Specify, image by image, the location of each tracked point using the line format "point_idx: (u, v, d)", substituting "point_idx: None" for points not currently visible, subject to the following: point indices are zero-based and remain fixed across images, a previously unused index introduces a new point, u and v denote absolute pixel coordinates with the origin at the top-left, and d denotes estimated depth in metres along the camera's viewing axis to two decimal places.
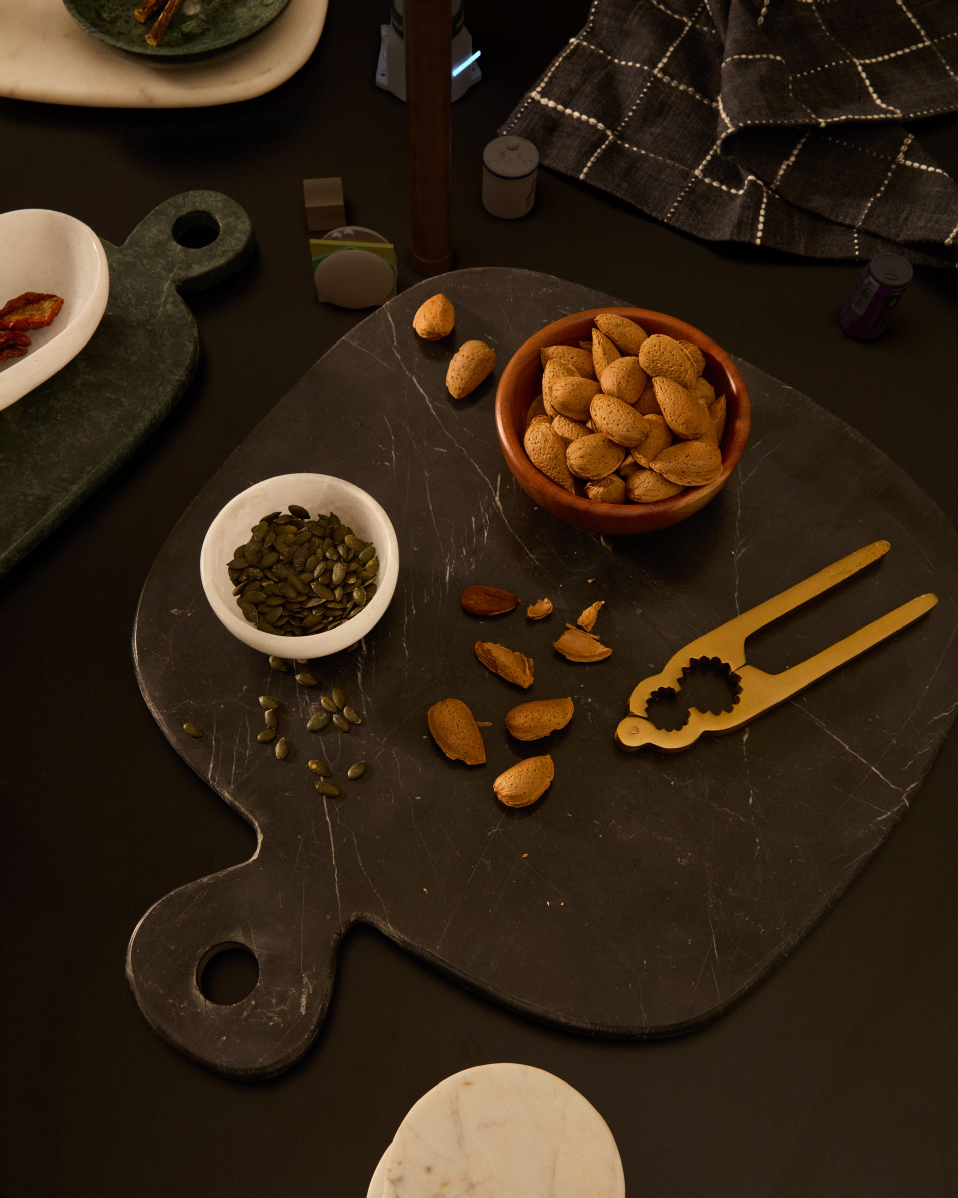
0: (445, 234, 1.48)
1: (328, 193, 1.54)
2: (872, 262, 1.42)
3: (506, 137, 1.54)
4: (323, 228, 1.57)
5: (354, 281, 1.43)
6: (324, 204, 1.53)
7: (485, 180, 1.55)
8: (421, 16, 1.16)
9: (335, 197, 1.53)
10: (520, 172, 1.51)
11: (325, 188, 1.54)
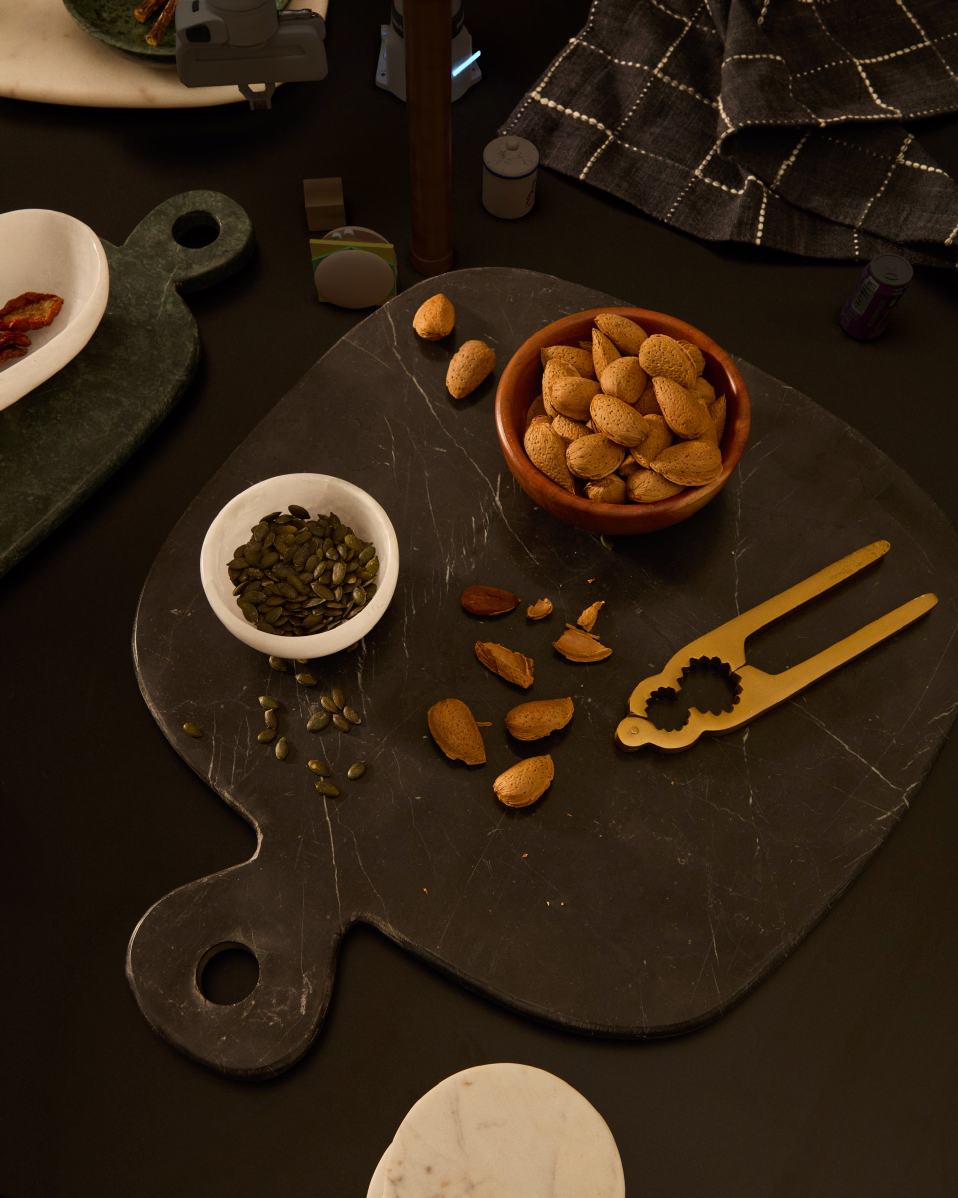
0: (445, 234, 1.48)
1: (328, 193, 1.54)
2: (872, 262, 1.42)
3: (506, 137, 1.54)
4: (323, 228, 1.57)
5: (354, 281, 1.43)
6: (324, 204, 1.53)
7: (485, 180, 1.55)
8: (421, 16, 1.16)
9: (335, 197, 1.53)
10: (520, 172, 1.51)
11: (325, 188, 1.54)
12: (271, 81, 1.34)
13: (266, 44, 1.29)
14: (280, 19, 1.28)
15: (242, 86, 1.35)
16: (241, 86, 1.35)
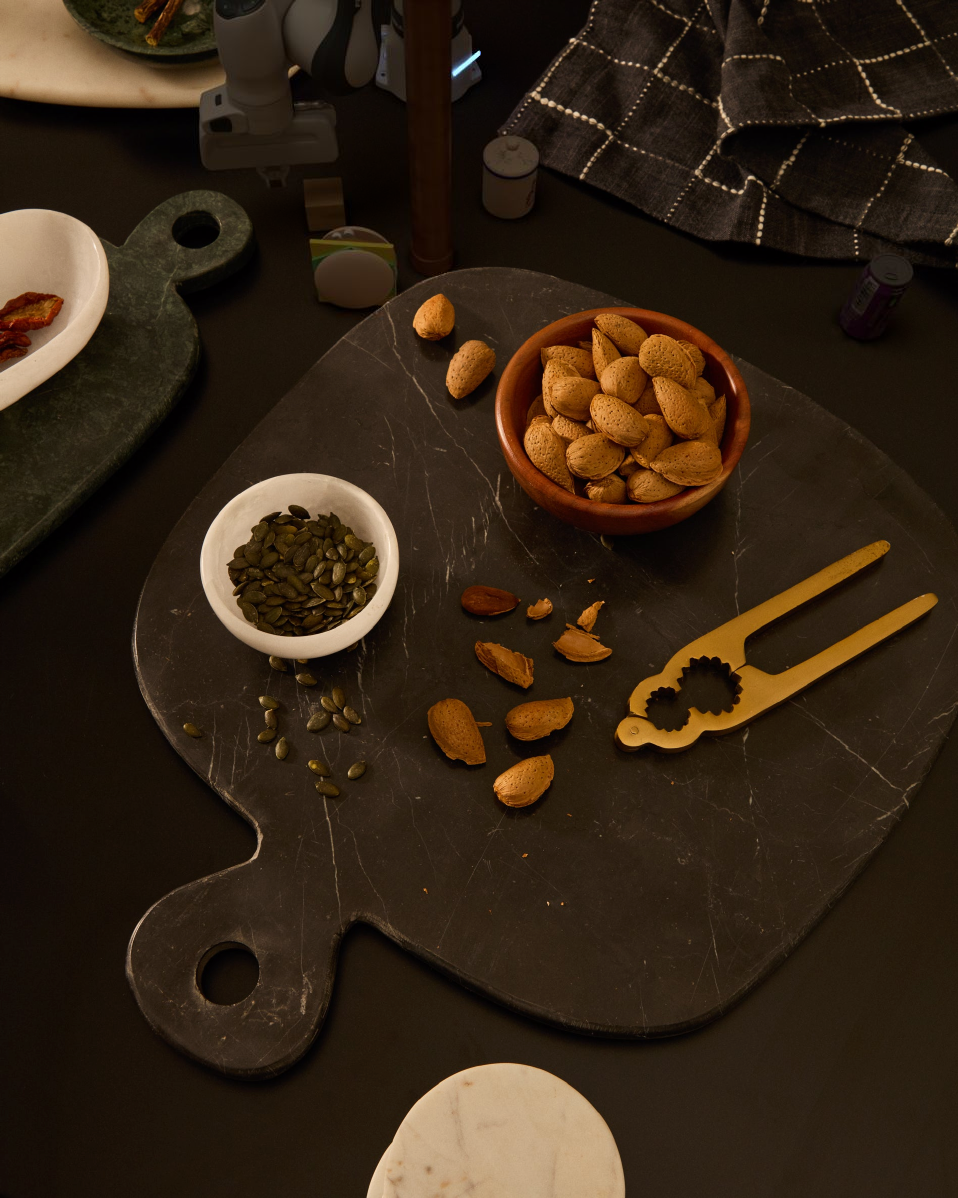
0: (445, 234, 1.48)
1: (328, 193, 1.54)
2: (872, 262, 1.42)
3: (506, 137, 1.54)
4: (323, 228, 1.57)
5: (354, 281, 1.43)
6: (324, 204, 1.53)
7: (485, 180, 1.55)
8: (421, 16, 1.16)
9: (335, 197, 1.53)
10: (520, 172, 1.51)
11: (325, 188, 1.54)
12: (286, 163, 1.46)
13: (282, 132, 1.41)
14: (295, 110, 1.40)
15: (259, 168, 1.47)
16: (259, 168, 1.47)
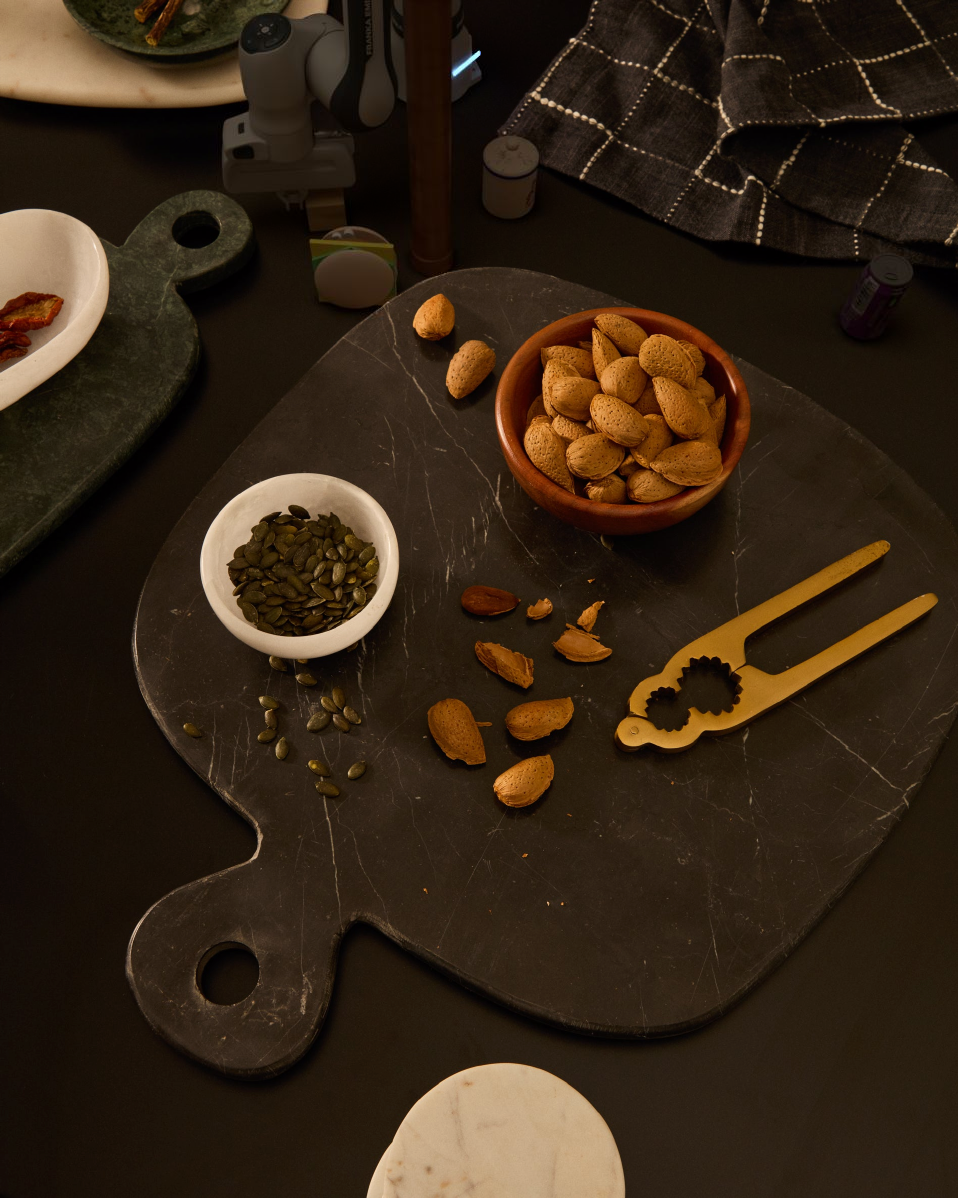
0: (445, 234, 1.48)
1: (329, 193, 1.54)
2: (872, 262, 1.42)
3: (506, 137, 1.54)
4: (323, 228, 1.57)
5: (354, 281, 1.43)
6: (325, 204, 1.53)
7: (485, 180, 1.55)
8: (421, 16, 1.16)
9: (336, 198, 1.53)
10: (520, 172, 1.51)
11: None
12: (305, 188, 1.51)
13: (302, 159, 1.46)
14: (315, 138, 1.44)
15: (280, 192, 1.52)
16: (279, 192, 1.52)
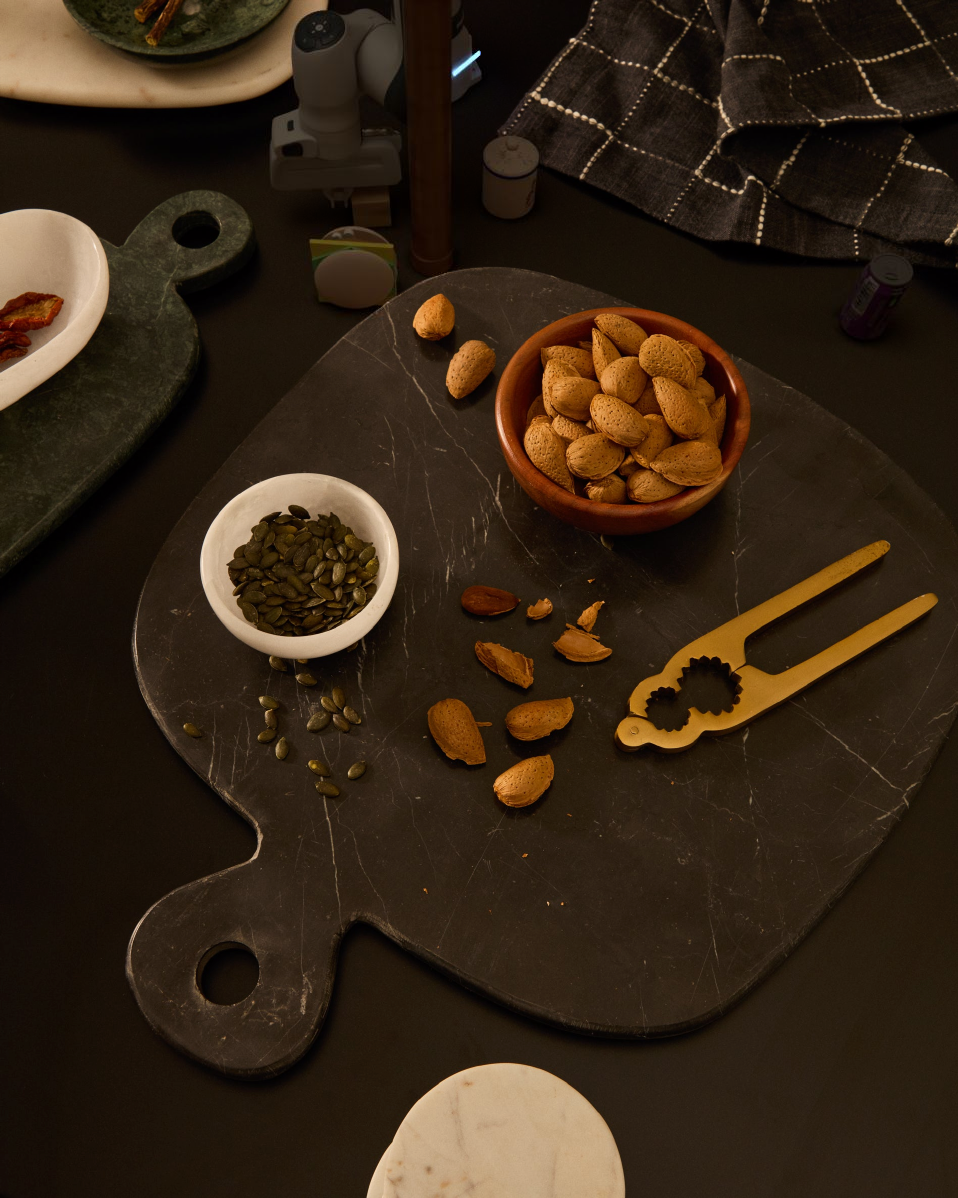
0: (445, 234, 1.48)
1: (374, 190, 1.54)
2: (872, 262, 1.42)
3: (506, 137, 1.54)
4: (368, 225, 1.57)
5: (354, 281, 1.43)
6: (371, 201, 1.53)
7: (485, 180, 1.55)
8: (421, 16, 1.16)
9: (381, 194, 1.54)
10: (520, 172, 1.51)
11: None
12: (351, 186, 1.51)
13: (350, 157, 1.46)
14: (363, 136, 1.45)
15: (326, 189, 1.52)
16: (325, 189, 1.52)
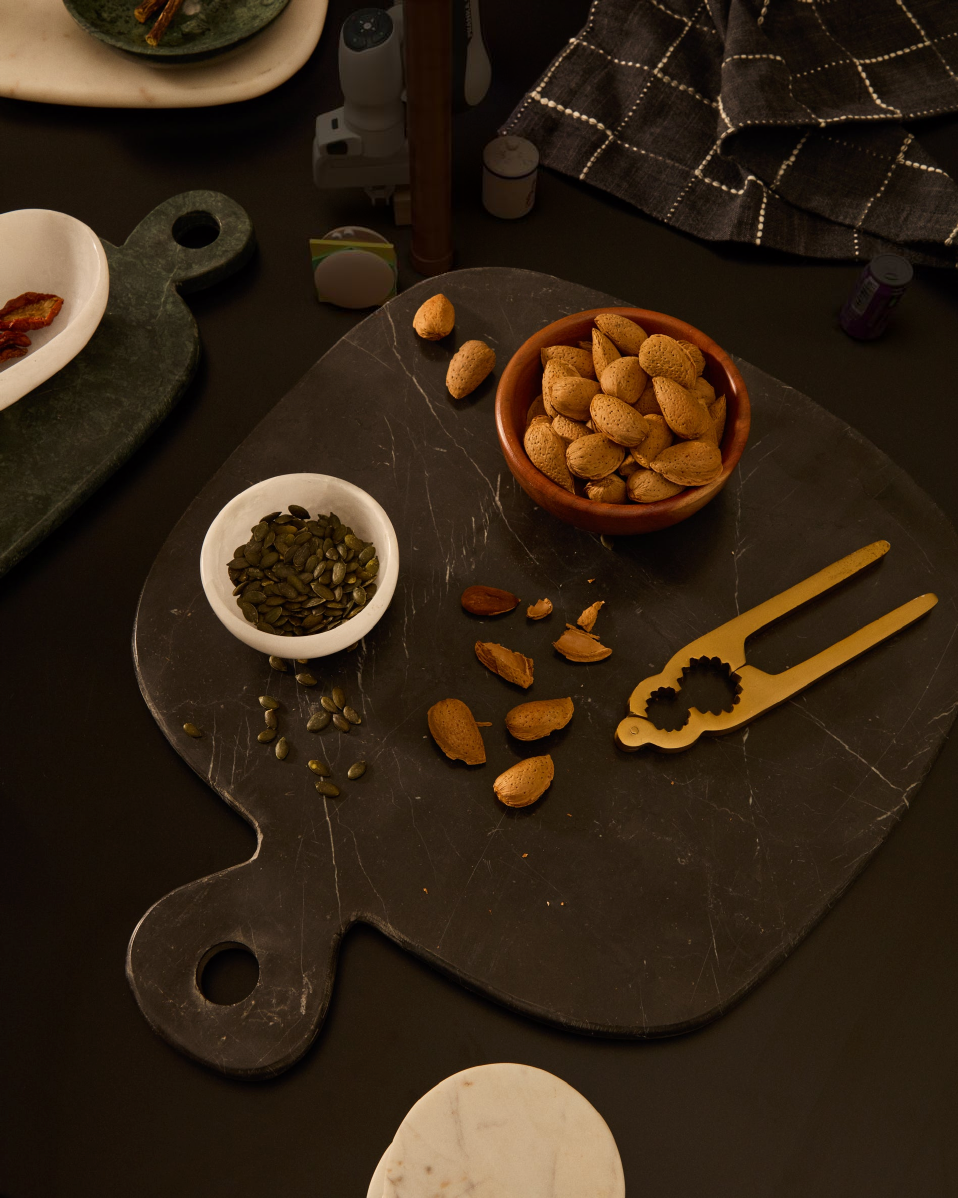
0: (445, 234, 1.48)
1: None
2: (872, 262, 1.42)
3: (506, 137, 1.54)
4: (409, 222, 1.58)
5: (354, 281, 1.43)
6: None
7: (485, 180, 1.55)
8: (421, 16, 1.16)
9: None
10: (520, 172, 1.51)
11: None
12: (393, 183, 1.52)
13: (393, 154, 1.47)
14: (406, 133, 1.46)
15: (367, 187, 1.53)
16: (366, 187, 1.53)
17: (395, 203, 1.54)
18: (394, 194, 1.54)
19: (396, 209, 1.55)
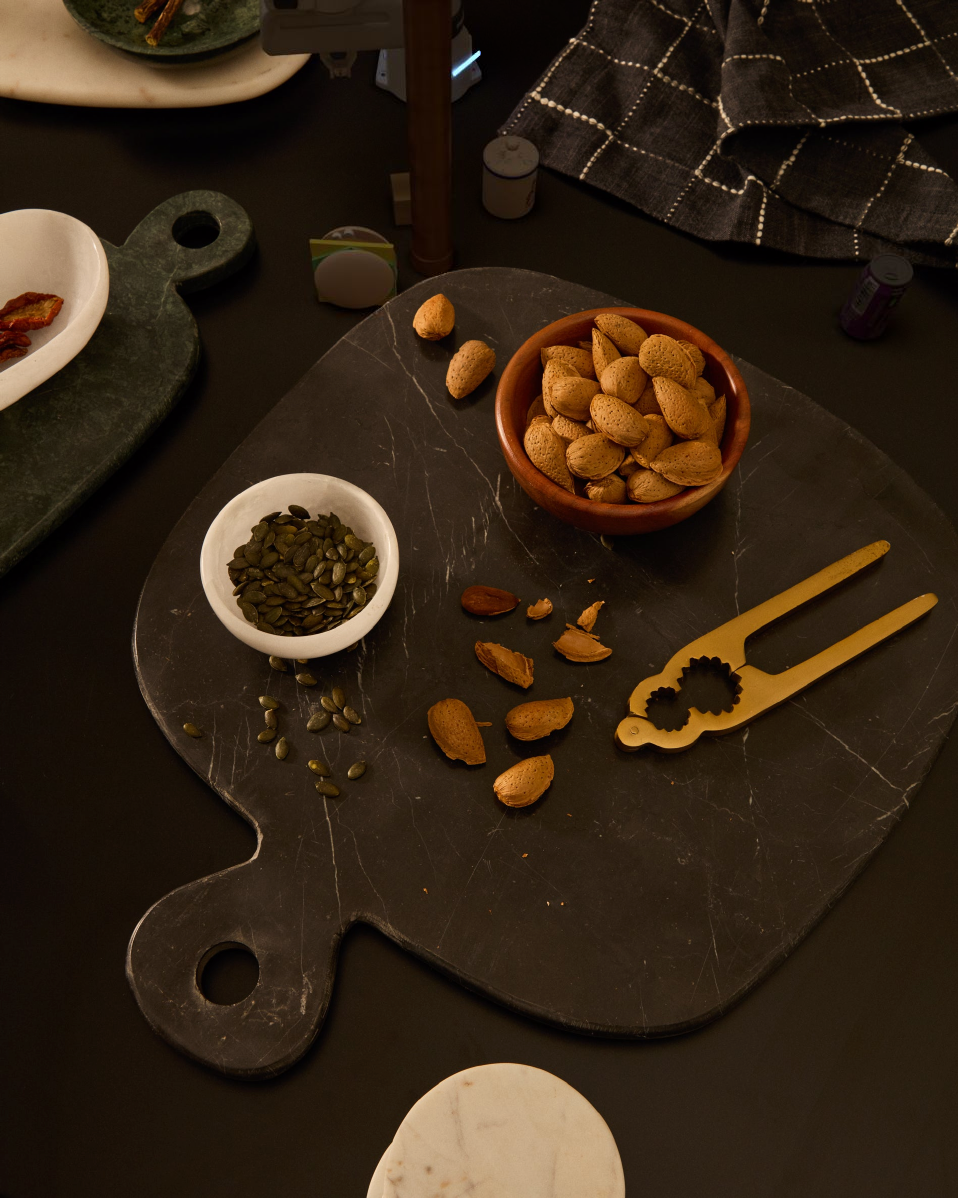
0: (445, 234, 1.48)
1: None
2: (872, 262, 1.42)
3: (506, 137, 1.54)
4: (409, 222, 1.58)
5: (354, 281, 1.43)
6: None
7: (485, 180, 1.55)
8: (421, 16, 1.16)
9: None
10: (520, 172, 1.51)
11: None
12: (354, 49, 1.32)
13: (352, 11, 1.27)
14: None
15: (324, 54, 1.33)
16: (323, 54, 1.33)
17: (395, 203, 1.54)
18: (394, 194, 1.54)
19: (396, 209, 1.55)
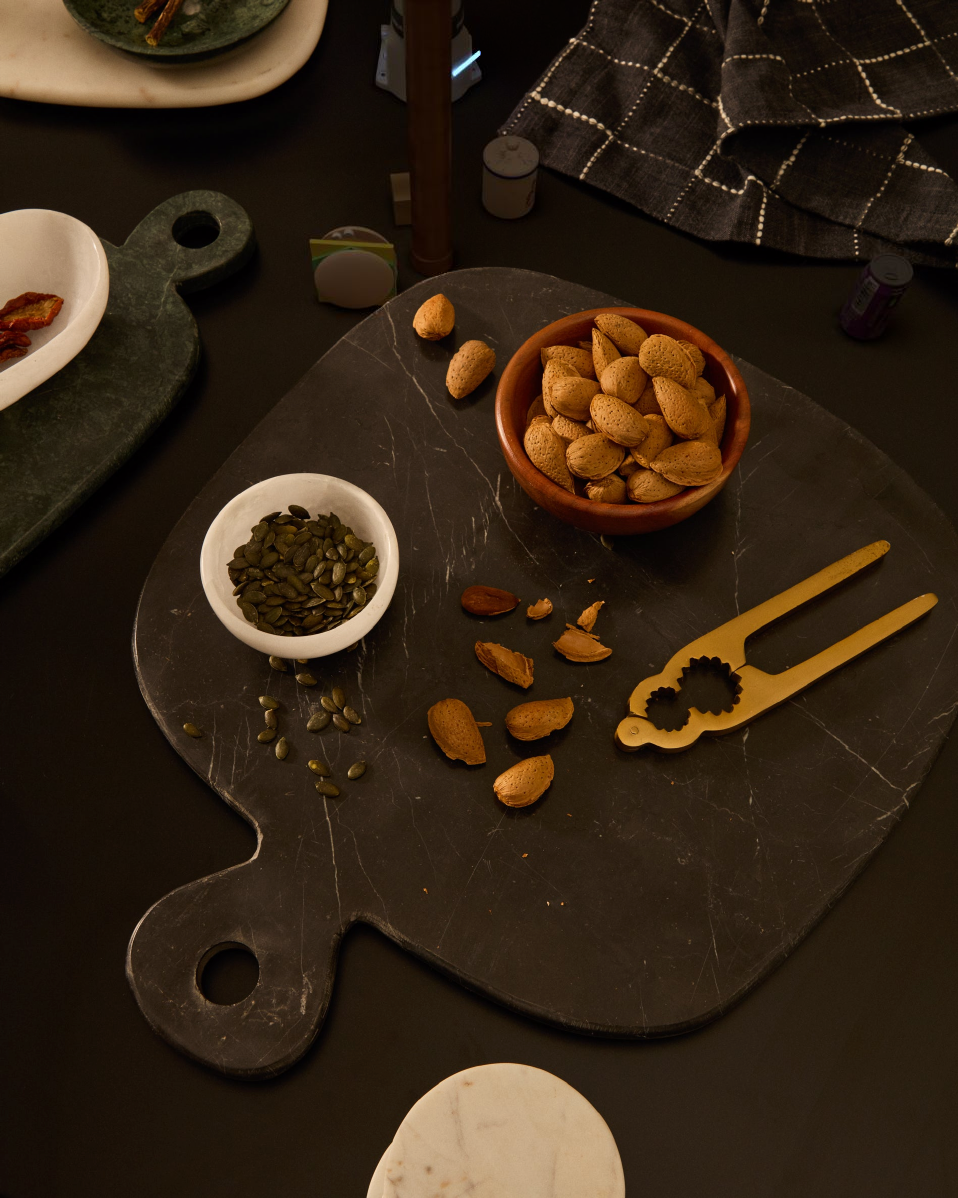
0: (445, 234, 1.48)
1: None
2: (872, 262, 1.42)
3: (506, 137, 1.54)
4: (409, 222, 1.58)
5: (354, 281, 1.43)
6: None
7: (485, 180, 1.55)
8: (421, 16, 1.16)
9: None
10: (520, 172, 1.51)
11: None
12: None
13: None
14: None
15: None
16: None
17: (395, 203, 1.54)
18: (394, 194, 1.54)
19: (396, 209, 1.55)
